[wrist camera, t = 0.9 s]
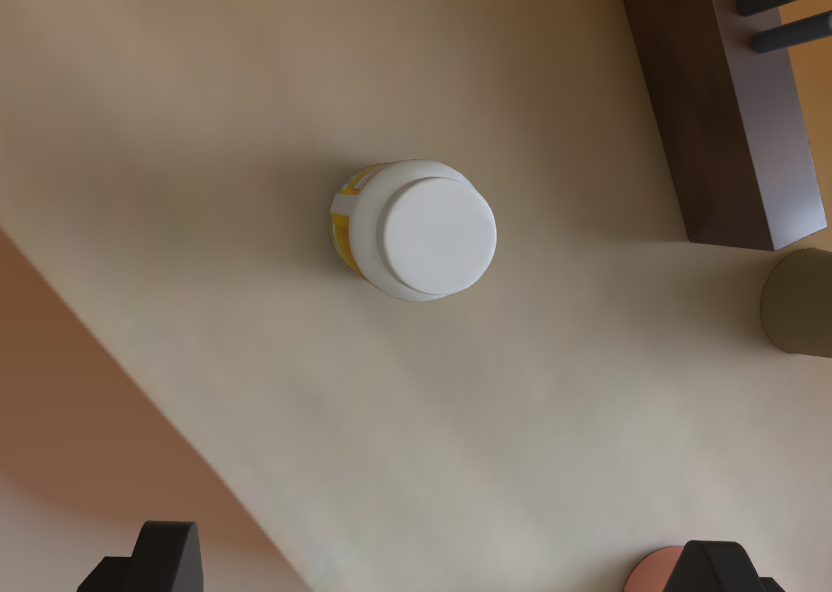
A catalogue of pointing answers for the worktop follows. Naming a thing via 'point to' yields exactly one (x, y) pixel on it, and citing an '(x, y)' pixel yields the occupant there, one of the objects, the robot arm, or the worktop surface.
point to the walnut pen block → (732, 117)
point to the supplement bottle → (413, 229)
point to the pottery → (653, 571)
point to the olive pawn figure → (800, 303)
